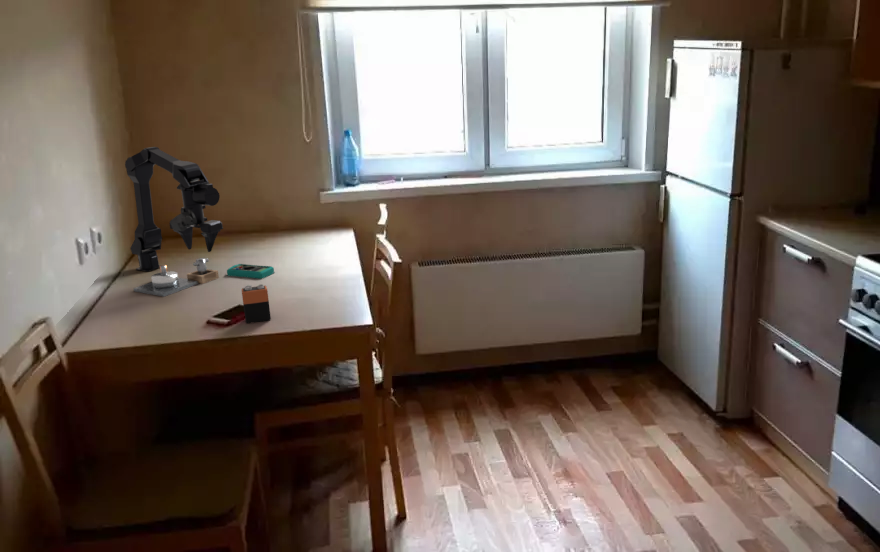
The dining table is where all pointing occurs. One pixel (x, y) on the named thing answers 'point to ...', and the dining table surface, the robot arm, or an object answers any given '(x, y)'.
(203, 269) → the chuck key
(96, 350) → the dining table surface
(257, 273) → the digital multimeter
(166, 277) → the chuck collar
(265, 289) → the battery
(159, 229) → the robot arm
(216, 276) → the key socket
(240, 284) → the dining table surface
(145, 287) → the chuck base
